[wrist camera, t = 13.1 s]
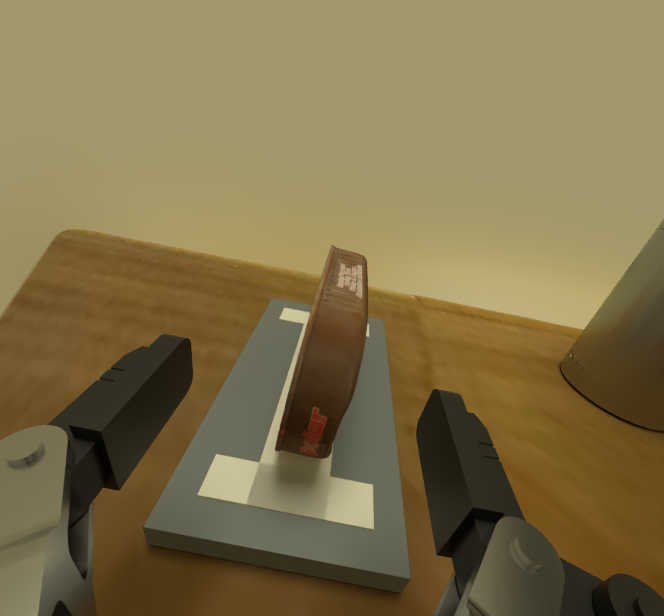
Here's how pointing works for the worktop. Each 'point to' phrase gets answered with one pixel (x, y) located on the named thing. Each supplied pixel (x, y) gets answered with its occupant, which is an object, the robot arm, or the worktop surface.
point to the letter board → (291, 472)
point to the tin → (327, 358)
